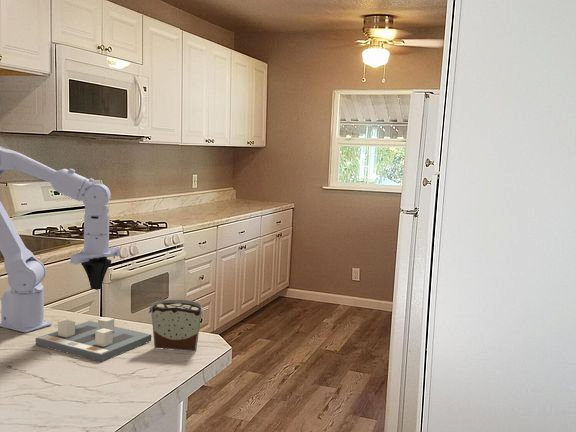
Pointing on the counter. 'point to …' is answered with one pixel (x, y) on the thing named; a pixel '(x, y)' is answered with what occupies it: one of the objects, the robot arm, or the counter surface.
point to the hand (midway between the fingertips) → (95, 288)
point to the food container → (176, 324)
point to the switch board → (86, 345)
